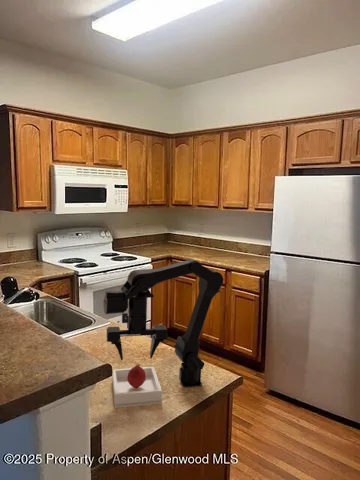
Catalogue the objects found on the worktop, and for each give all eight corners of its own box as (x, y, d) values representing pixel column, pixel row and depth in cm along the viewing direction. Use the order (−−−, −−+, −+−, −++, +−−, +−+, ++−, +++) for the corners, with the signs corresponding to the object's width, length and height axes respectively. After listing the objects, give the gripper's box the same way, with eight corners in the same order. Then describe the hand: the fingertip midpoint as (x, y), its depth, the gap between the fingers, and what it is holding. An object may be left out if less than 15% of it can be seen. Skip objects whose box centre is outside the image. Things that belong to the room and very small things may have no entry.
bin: (153, 377, 126) (153, 366, 126) (161, 403, 111) (161, 390, 110) (112, 380, 123) (112, 369, 122) (114, 407, 107) (115, 395, 107)
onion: (141, 394, 113) (143, 369, 112) (124, 390, 114) (125, 366, 114) (147, 385, 119) (148, 362, 118) (130, 382, 120) (132, 359, 119)
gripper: (162, 302, 124) (160, 346, 125) (106, 304, 119) (105, 350, 121) (168, 313, 113) (167, 361, 115) (107, 315, 108) (106, 365, 110)
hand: (136, 358), depth 115 cm, fingers open, 9 cm apart
